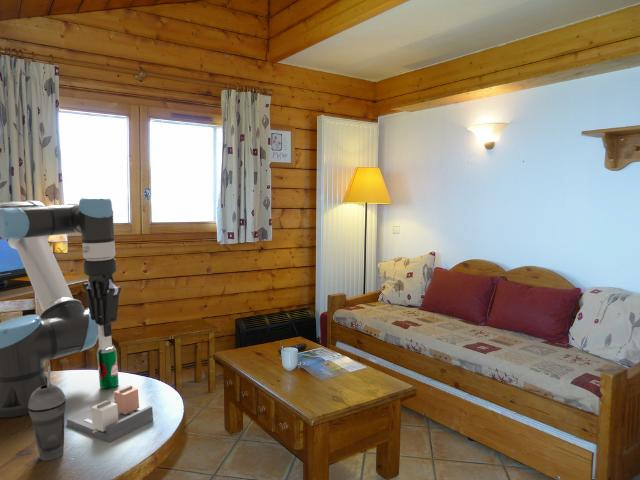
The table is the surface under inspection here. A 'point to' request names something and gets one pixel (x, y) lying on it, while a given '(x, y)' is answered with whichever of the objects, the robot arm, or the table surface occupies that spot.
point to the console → (114, 430)
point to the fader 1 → (104, 415)
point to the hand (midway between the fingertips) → (105, 347)
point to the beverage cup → (48, 419)
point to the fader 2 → (126, 399)
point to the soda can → (107, 368)
